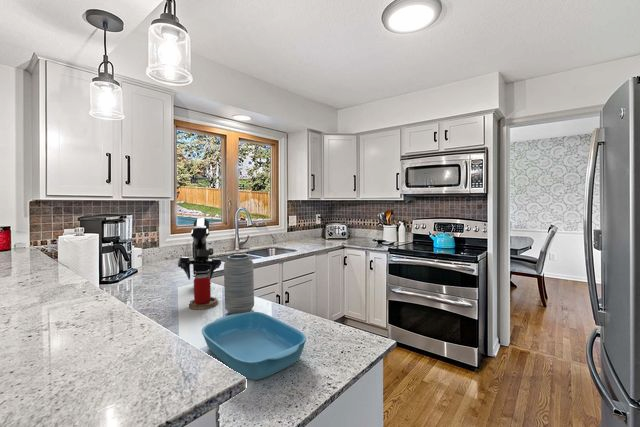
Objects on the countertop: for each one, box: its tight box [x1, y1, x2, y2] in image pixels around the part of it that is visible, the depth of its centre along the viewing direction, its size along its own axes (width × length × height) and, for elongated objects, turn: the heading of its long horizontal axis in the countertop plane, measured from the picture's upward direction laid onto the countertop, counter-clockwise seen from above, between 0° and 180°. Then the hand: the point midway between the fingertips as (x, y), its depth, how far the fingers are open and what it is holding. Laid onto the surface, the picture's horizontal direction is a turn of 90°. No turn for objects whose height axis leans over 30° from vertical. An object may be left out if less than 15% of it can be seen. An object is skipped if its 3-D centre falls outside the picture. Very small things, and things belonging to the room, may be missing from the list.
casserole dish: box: [201, 311, 307, 381], centre depth 93 cm, size 37×22×7 cm, turn 43°
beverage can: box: [193, 274, 212, 305], centre depth 135 cm, size 7×7×12 cm
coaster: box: [188, 296, 219, 311], centre depth 135 cm, size 12×12×2 cm
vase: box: [223, 253, 255, 315], centre depth 126 cm, size 12×12×23 cm
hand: (199, 279), depth 143 cm, fingers open, 9 cm apart
